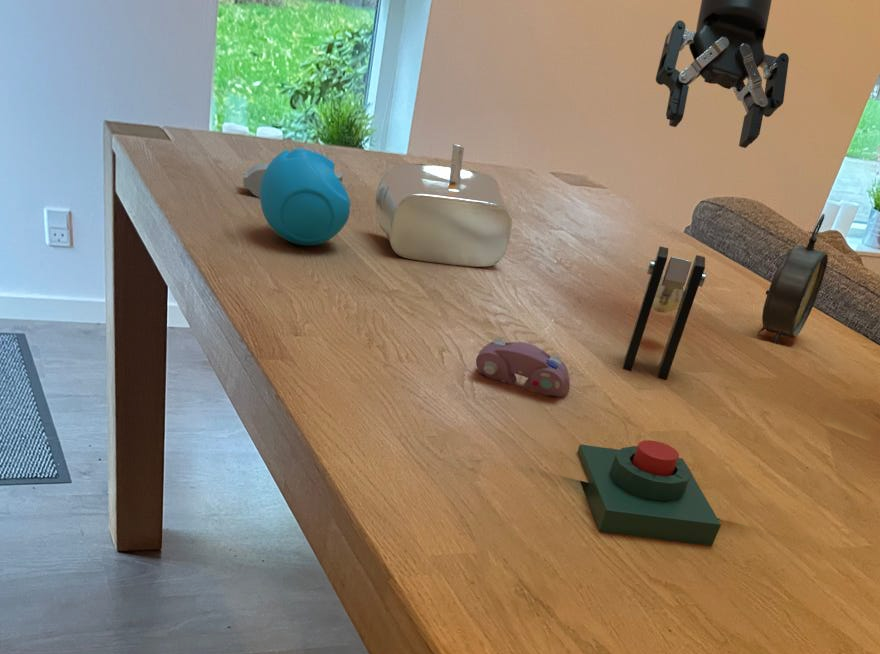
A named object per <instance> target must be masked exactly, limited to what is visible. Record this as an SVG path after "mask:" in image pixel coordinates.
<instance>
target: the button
mask: <svg viewBox="0 0 880 654" xmlns="http://www.w3.org/2000/svg"><path fill="white" fill-rule="evenodd" d="M636 446H637V449H636V452H635V455H634V458H633V461H632V464H633V465H634V466H636V467H637V468H639V469H640V470H642V471H645V472H648V473H650V474H653V475H658V476H671V475H672V474H673V472H674V469H675V466H676V464H677V461H678V458H680V453H679V451H678V450H677V449H676V448H675V447H672V446H671V445H669V444H668V443H665V442H662V441H659V440H651V439H648V440H647V439H645V440H642V441H639V443H638V444H637V445H636Z"/></svg>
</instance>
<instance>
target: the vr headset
mask: <svg viewBox="0 0 880 654" xmlns="http://www.w3.org/2000/svg"><path fill="white" fill-rule="evenodd" d="M464 151H465V146H462V145H460V144H455V143H453V144H452V151H451V159H450V160H451V161H450V167H449V166H441V165H436V164H435V165H434V164H428V163H402V164H399V165H396V166H393V167H391V168H390V169H388V170H387V171H386V172H385V173H384V175H383V176H382V178H381V179H380V181H379V183H378V187H377V190H376V194H375V207H374V208H375V215H376V220H377V224H378V225H379V227H380V229H381V230H382V231H383V233H384V234H385V235H386V237H387V239H388V241H389V243H390V247H391V249H392V250H393V252H394V253H395V254H396V255H398V256H399V257H401V258H404V259H409V260H413V261H419V262H420V261H421V262H426V263H427V262H428V263H435V264H442V265H443V264H444V265H452V266H462V267H476V268H478V267H479V268H480V267H481V268H484V267H491V266H494V265H497V264H498V263H500V261H502V259H503V258H504V256H505V254H506V251H507V249H508V246H509V243H510V238H511V234H512V233H511V232H512V227H513V218H512V214H511V213H510V210H509V209H508V206H507V204H506V202H505V200H504V198H503V195H502V193H501V192H502V191H501V188H500V187H501V186H500V184H499V182H498V181H497V180H496V178H494V177H492V176H491V175H489V174H486V173H484V172H480V171H476V170H470V169H464V168H463V159H464Z"/></svg>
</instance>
